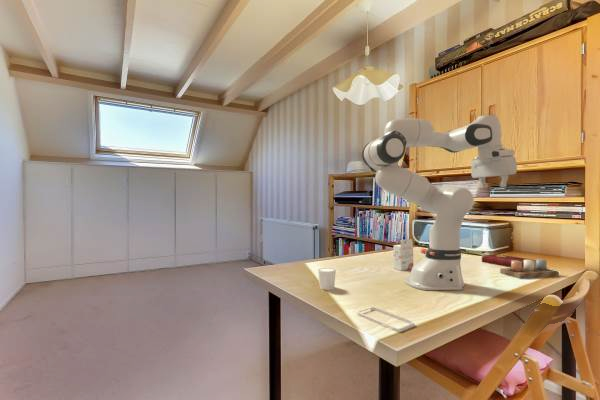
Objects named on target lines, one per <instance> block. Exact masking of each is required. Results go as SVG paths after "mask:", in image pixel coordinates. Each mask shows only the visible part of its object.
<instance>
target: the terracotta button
mask: <svg viewBox="0 0 600 400" xmlns="http://www.w3.org/2000/svg"><path fill="white" fill-rule="evenodd" d="M510 268H511V271H514V272H522V261H517V260H511V267H510Z"/></svg>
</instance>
